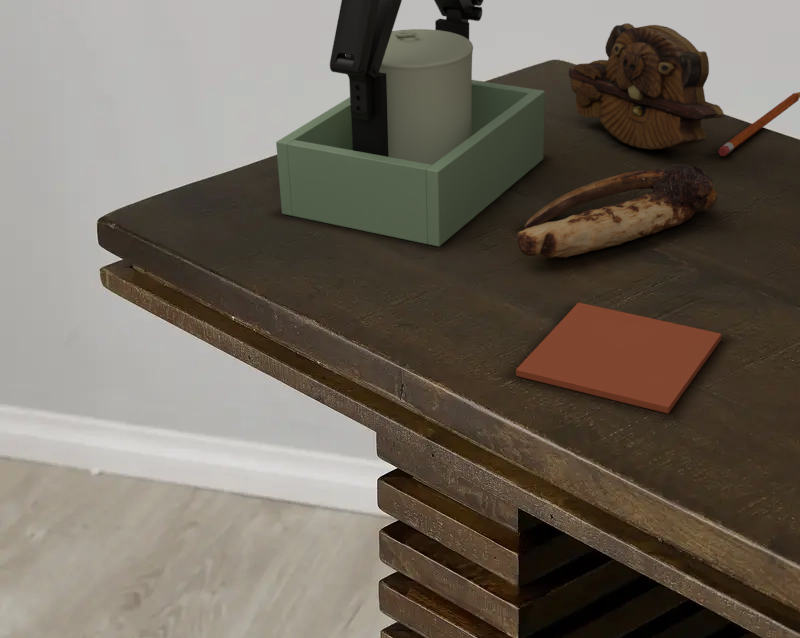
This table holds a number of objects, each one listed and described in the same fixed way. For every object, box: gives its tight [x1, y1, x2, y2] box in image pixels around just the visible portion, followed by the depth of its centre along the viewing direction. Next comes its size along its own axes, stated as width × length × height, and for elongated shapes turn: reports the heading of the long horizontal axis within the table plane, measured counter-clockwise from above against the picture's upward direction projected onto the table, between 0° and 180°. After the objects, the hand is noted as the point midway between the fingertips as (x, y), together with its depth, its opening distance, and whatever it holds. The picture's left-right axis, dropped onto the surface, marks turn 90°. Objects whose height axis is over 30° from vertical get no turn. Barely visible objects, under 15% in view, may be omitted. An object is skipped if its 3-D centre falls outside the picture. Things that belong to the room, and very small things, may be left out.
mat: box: [515, 302, 723, 414], centre depth 88 cm, size 10×10×1 cm
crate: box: [275, 79, 546, 247], centre depth 111 cm, size 14×19×6 cm
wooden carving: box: [568, 22, 725, 150], centre depth 117 cm, size 16×5×10 cm, turn 40°
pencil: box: [717, 91, 800, 157], centre depth 122 cm, size 1×18×1 cm, turn 145°
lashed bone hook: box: [516, 163, 719, 259], centre depth 103 cm, size 9×5×18 cm
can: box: [379, 28, 474, 165], centre depth 110 cm, size 9×9×12 cm
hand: (413, 126), depth 111 cm, fingers open, 13 cm apart
